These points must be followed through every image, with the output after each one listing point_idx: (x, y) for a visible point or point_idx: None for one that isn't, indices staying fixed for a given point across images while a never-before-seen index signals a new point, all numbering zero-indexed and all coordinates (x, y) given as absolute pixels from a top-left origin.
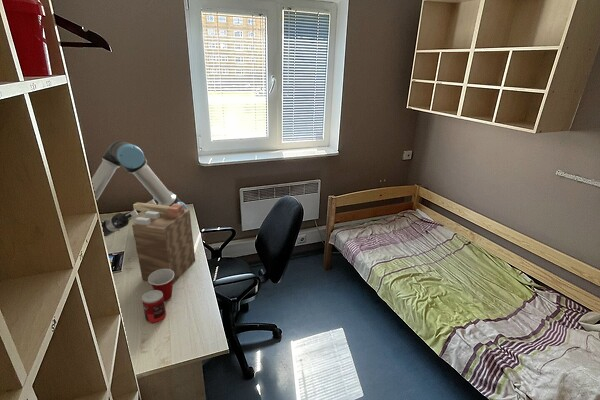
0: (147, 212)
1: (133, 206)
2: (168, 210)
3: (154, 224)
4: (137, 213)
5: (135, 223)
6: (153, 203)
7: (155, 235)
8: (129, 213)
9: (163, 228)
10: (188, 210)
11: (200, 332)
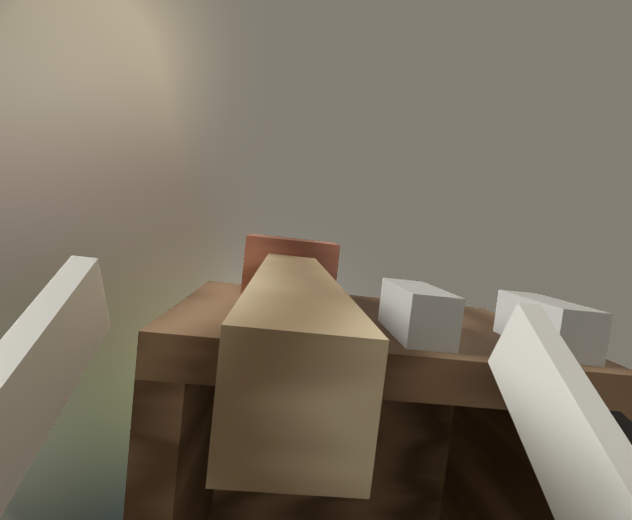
0: (442, 294)
1: (380, 392)
2: (337, 262)
3: (485, 323)
4: (501, 349)
5: (603, 369)
6: (98, 323)
7: None
8: (596, 408)
9: (479, 309)
10: (221, 282)
11: None
